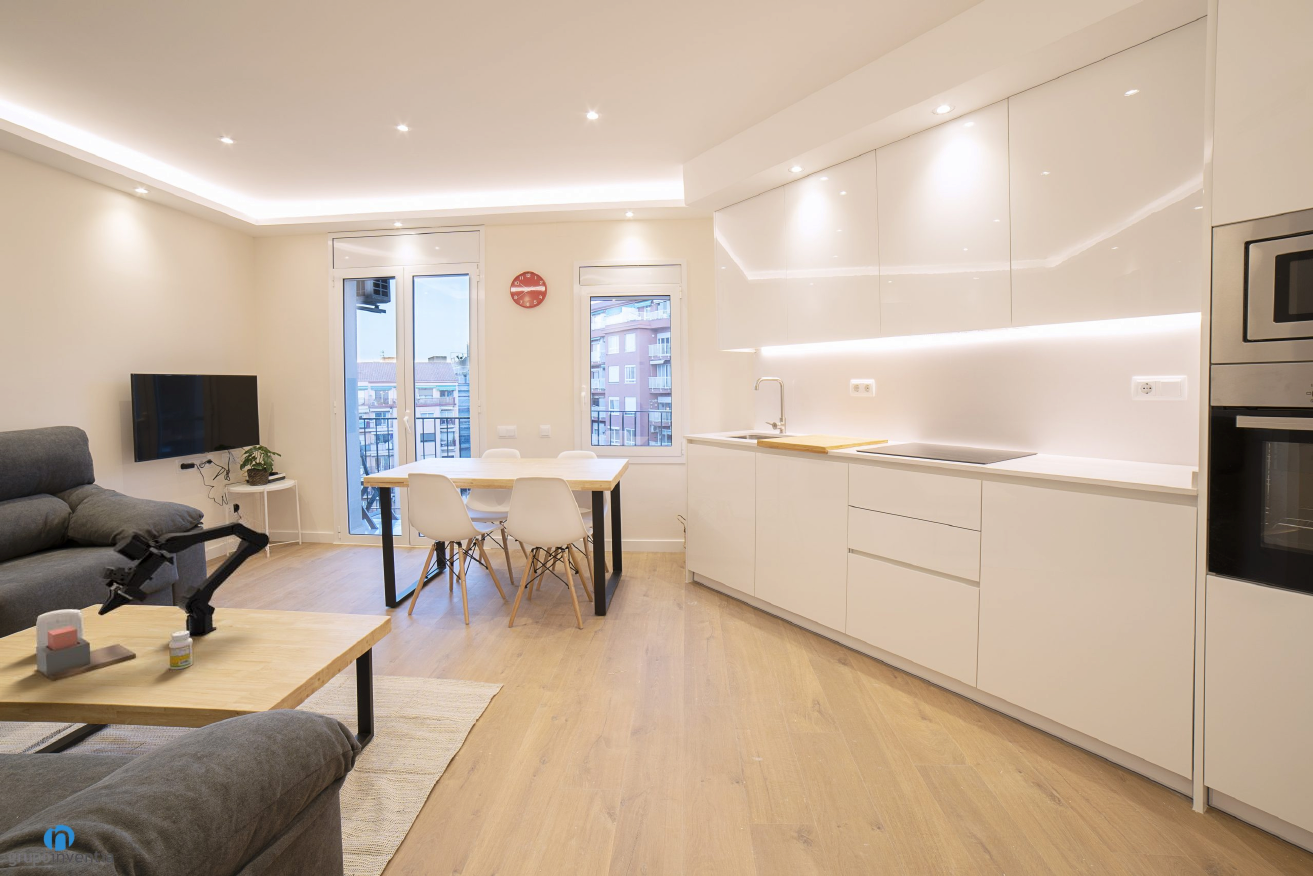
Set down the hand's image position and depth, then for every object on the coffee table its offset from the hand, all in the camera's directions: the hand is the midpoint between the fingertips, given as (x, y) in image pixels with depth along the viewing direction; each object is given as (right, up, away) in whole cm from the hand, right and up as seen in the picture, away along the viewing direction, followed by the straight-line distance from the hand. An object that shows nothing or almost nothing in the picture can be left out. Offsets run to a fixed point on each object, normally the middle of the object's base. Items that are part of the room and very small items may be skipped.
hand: (99, 614), depth 175 cm
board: (-2, -14, -2) cm, 14 cm away
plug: (-4, -8, -6) cm, 11 cm away
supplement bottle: (+27, -14, -3) cm, 31 cm away
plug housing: (-4, -13, -6) cm, 15 cm away
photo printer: (-19, -13, +8) cm, 25 cm away
